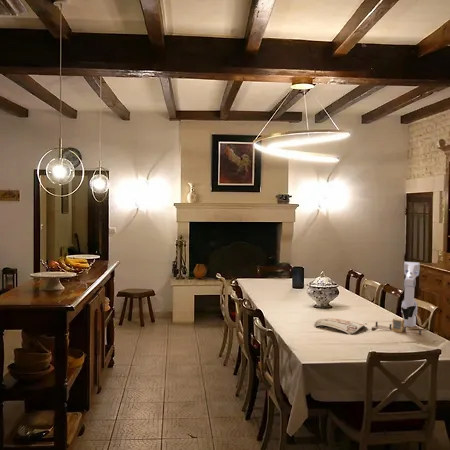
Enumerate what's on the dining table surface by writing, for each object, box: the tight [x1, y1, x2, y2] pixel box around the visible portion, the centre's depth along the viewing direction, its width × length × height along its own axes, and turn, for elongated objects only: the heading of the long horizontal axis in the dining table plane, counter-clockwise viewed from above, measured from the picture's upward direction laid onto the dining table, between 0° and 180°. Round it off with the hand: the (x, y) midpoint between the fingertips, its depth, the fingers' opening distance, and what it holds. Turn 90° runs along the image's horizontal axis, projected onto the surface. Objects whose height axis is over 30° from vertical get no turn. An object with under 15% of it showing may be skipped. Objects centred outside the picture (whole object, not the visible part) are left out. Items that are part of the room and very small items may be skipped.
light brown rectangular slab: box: [391, 317, 405, 332], centre depth 322 cm, size 4×6×7 cm
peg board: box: [371, 321, 425, 337], centre depth 323 cm, size 10×30×4 cm, turn 52°
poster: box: [313, 317, 368, 336], centre depth 334 cm, size 28×6×30 cm
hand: (408, 318), depth 322 cm, fingers open, 7 cm apart
